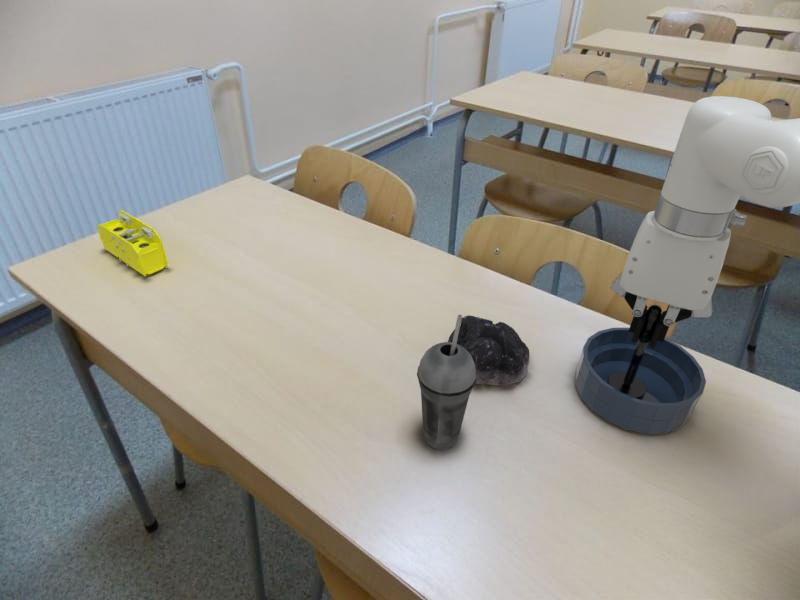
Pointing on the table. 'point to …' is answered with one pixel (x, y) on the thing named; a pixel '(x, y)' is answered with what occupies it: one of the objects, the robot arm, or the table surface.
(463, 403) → the beverage cup
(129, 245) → the yellow toy chassis
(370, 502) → the table surface
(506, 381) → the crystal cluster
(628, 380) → the disc-capped black rod
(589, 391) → the bowl
